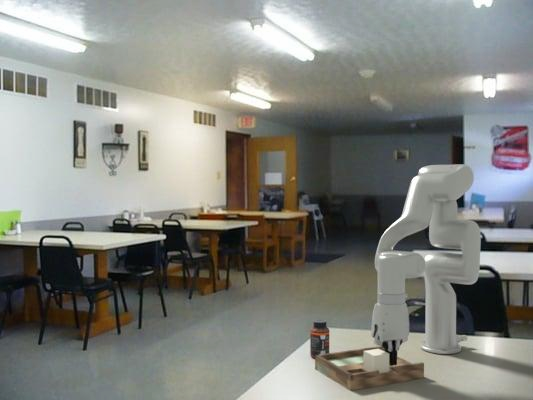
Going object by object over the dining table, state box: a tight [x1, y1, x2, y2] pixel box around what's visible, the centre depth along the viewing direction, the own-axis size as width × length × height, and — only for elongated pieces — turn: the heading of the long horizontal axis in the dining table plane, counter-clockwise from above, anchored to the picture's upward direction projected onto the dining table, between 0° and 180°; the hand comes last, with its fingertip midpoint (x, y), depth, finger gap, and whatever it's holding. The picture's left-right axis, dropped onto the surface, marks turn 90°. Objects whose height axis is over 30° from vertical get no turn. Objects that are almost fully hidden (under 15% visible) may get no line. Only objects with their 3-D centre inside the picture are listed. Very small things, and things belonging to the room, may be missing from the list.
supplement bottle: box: [309, 319, 330, 359], centre depth 174 cm, size 6×6×11 cm
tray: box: [314, 345, 425, 392], centre depth 159 cm, size 24×19×4 cm
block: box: [364, 349, 389, 373], centre depth 154 cm, size 5×5×5 cm
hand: (391, 363), depth 156 cm, fingers closed
